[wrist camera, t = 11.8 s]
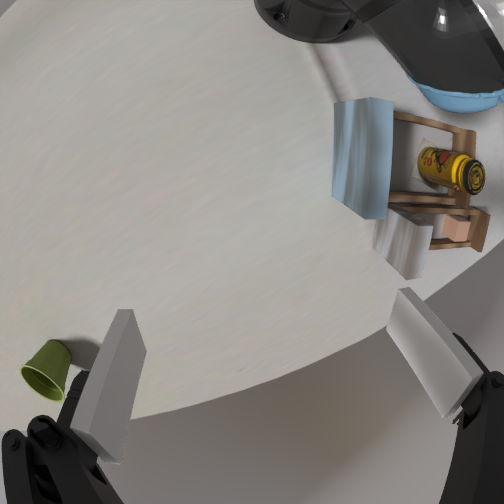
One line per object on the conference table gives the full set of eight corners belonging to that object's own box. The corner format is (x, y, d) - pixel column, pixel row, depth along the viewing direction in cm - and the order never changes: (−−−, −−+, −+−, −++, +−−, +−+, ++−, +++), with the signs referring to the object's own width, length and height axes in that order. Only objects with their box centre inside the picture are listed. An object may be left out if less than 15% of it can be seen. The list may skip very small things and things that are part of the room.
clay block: (445, 214, 43) (458, 221, 40) (457, 215, 43) (470, 221, 40) (441, 233, 45) (454, 241, 41) (454, 233, 45) (466, 241, 42)
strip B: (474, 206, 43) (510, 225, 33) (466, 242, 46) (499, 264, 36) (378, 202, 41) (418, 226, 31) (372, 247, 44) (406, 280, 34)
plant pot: (32, 327, 46) (11, 359, 36) (71, 336, 47) (52, 373, 37) (48, 363, 51) (32, 394, 40) (86, 372, 52) (72, 407, 42)
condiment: (422, 137, 37) (472, 146, 26) (451, 158, 38) (497, 172, 28) (409, 175, 39) (457, 193, 29) (439, 193, 41) (484, 214, 30)
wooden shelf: (457, 128, 36) (500, 136, 26) (450, 200, 42) (490, 219, 32) (334, 103, 34) (370, 97, 24) (331, 196, 40) (364, 219, 30)
